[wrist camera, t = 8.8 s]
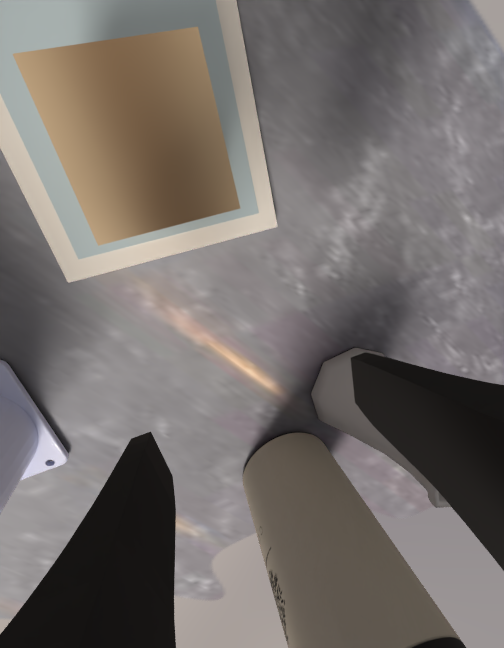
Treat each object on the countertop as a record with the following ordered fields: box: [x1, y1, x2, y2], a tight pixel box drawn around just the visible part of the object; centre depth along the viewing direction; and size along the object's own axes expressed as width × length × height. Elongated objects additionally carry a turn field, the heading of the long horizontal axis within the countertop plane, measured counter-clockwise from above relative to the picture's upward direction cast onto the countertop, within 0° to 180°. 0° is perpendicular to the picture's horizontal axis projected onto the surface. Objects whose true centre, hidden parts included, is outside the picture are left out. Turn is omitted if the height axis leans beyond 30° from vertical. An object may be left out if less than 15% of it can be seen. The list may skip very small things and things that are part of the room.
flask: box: [311, 348, 451, 508], centre depth 19 cm, size 7×7×10 cm
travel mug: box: [243, 433, 466, 648], centre depth 17 cm, size 8×8×18 cm
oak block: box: [13, 27, 240, 246], centre depth 11 cm, size 5×5×6 cm
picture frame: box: [0, 0, 278, 283], centre depth 14 cm, size 12×12×1 cm
